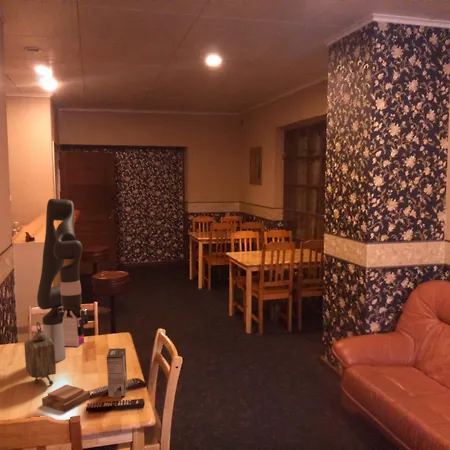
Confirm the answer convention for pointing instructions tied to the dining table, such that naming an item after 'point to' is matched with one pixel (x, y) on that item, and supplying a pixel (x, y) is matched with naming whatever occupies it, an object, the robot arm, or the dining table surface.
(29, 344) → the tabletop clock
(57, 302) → the robot arm
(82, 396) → the walnut base
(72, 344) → the supplement box
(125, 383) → the coffee box
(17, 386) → the dining table surface
